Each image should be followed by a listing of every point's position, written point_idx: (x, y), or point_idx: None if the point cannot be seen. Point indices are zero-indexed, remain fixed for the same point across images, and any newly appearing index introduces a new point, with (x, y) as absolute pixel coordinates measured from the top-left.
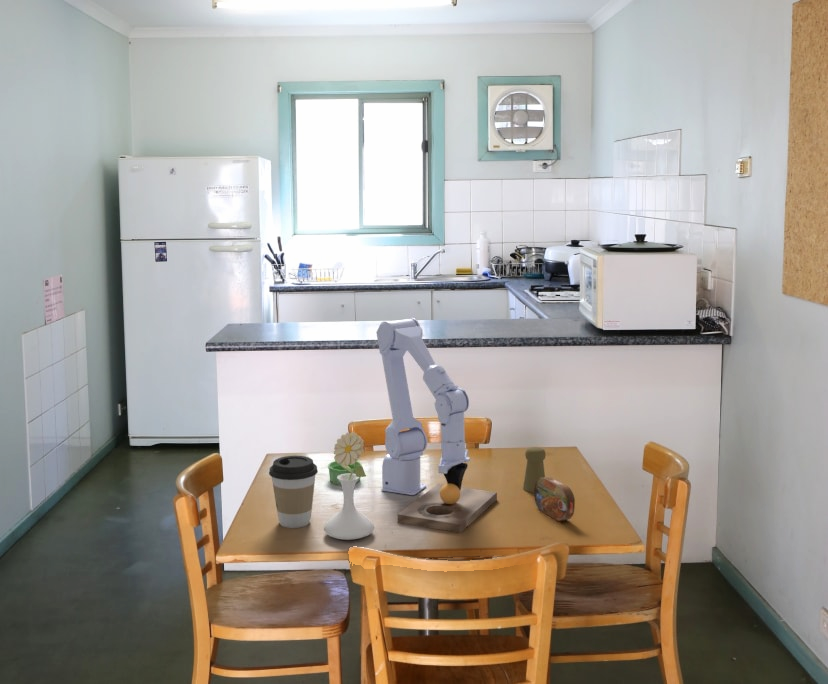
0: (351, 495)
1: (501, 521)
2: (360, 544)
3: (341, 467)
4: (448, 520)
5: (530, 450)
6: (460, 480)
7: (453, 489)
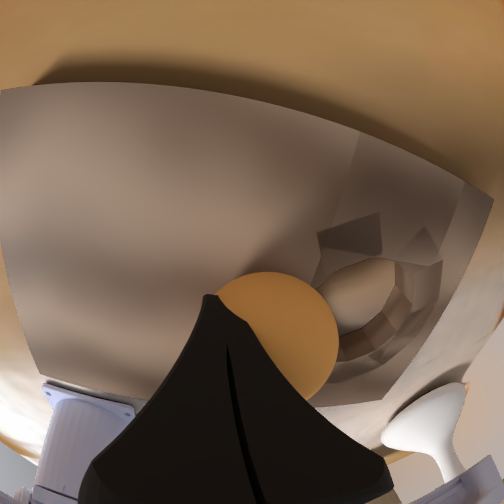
0: (460, 463)
1: (347, 5)
2: (461, 373)
3: None
4: (462, 252)
5: None
6: (244, 373)
7: (326, 350)
